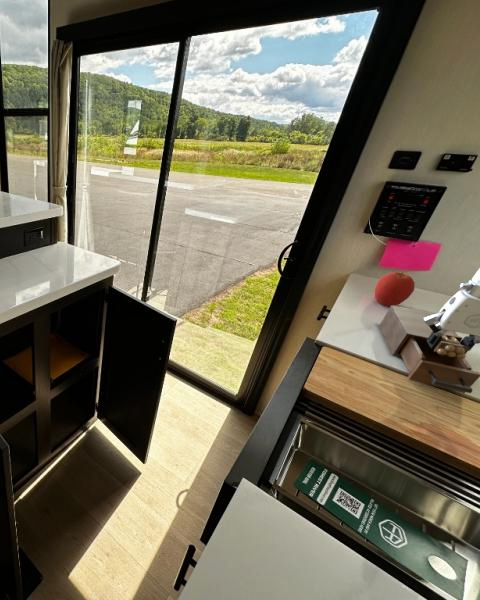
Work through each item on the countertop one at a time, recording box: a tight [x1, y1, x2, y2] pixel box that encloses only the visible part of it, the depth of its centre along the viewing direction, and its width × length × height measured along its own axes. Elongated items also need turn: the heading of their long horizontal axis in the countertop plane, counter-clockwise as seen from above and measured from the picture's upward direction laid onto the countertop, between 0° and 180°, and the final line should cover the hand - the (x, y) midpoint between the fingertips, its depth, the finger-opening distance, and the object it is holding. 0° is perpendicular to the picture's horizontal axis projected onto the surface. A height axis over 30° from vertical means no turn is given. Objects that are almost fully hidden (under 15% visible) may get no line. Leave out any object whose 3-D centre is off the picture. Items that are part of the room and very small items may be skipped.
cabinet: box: [378, 305, 462, 358], centre depth 99 cm, size 17×13×9 cm
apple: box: [374, 271, 416, 307], centre depth 117 cm, size 10×10×14 cm
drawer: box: [399, 336, 480, 394], centre depth 88 cm, size 20×11×7 cm, turn 153°
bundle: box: [434, 333, 470, 359], centre depth 86 cm, size 8×6×3 cm
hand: (445, 347), depth 86 cm, fingers closed on bundle, 5 cm apart
